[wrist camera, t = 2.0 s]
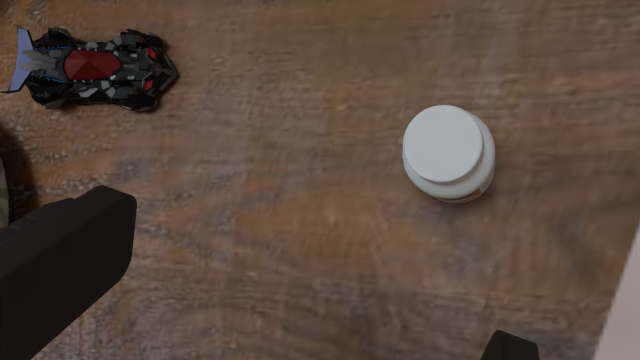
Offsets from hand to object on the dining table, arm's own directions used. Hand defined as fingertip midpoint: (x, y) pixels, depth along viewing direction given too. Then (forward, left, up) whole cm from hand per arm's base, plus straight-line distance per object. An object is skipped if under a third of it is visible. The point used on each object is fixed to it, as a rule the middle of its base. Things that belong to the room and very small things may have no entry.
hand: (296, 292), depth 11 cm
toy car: (+24, -10, -21) cm, 33 cm away
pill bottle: (-1, -5, -21) cm, 21 cm away
